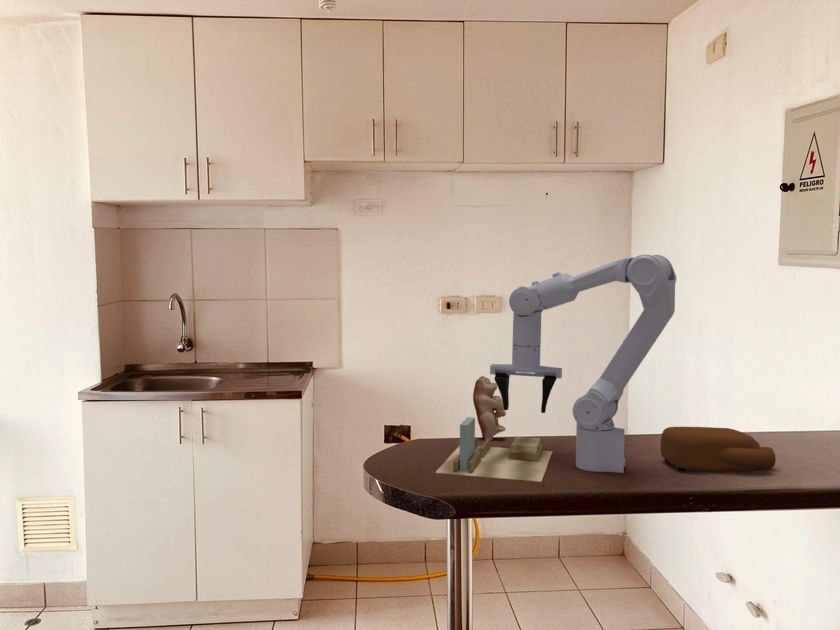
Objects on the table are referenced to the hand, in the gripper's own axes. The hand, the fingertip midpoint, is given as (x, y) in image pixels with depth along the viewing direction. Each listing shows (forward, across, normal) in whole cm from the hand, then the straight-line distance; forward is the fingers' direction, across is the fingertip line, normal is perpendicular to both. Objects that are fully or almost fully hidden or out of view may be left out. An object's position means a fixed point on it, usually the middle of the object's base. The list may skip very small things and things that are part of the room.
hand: (524, 410), depth 148 cm
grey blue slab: (+10, +10, +11) cm, 17 cm away
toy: (+10, -38, -7) cm, 40 cm away
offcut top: (+8, 0, 0) cm, 8 cm away
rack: (+10, +4, +6) cm, 13 cm away
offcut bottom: (+9, 0, 0) cm, 9 cm away
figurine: (+11, +10, -13) cm, 19 cm away
